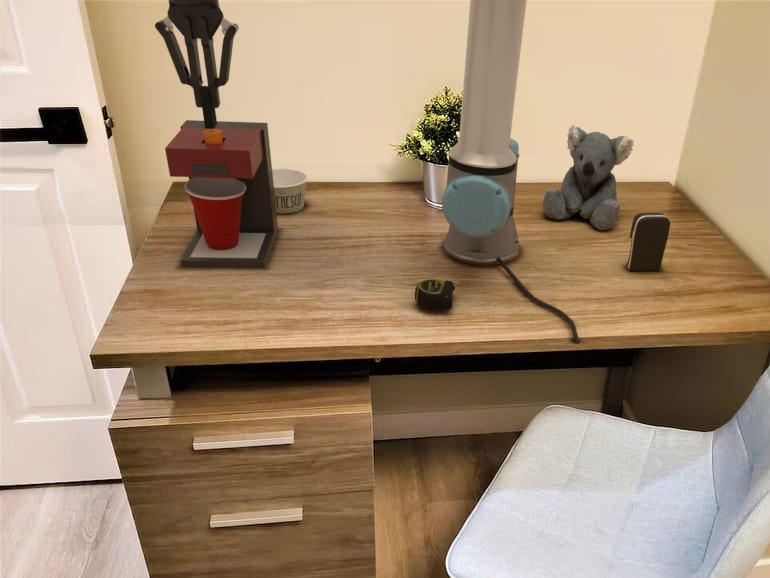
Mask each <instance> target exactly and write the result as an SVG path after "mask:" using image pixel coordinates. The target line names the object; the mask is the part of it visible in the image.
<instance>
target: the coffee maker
mask: <svg viewBox="0 0 770 578" xmlns="http://www.w3.org/2000/svg"><path fill="white" fill-rule="evenodd" d="M214 129H218V130H221V132H222V140H223V144H205V140H204V133H203V131H205V130H208V129H205V124H204V120H197V119H196V120H194V119H193V120H192V119H186V120H185V121H184V122H183V123H182V124H181V125H180V130H179V131H178V132H177V133H176V135H174V137H173V138H172V139H171V141H169V143H167V145H166V146H165V148H164V151H165V157H166V162H167V168H168V174H169V177H171V178H172V177H173V178H188V181H189V180H191V179H193V178H196V177H207V178H235V179H238V180H240V181H241V182H243V183H244V184H245V185H246V187H247V188H246V190H245V192H244V194H243V198H242V203H241V218H240V228H239V241H238V244H237V246H235V247H234V248H231V249H227V250H214V249H211V248H209V247H208V245H207V244H206V241H205V238H204V235H203V232H202V231H201V228H200V225H199V222H198V219H197V216H196V213H195V210H194V209H193V212H194V220H195V225H196V231H195V234H194V236H193V237H192V239H191V241H190V242H189V245H188V246H187V247H186V249H185V252H183V255H182V257H181V258H180V261H179V262H180V267H181V268H190V269H191V268H193V269H194V268H195V269H197V268H198V269H199V268H201V269H202V268H203V269H266V266H267V263H268V261H269V257H270V255H271V251H272V249H273V245H274V243H275V241H276V240H275V239H276V237H277V234H278V231H279V226H278V225H279V224H278V217H277V216H278V215H277V214H278V213H276V204H275V194H274V184H273V174H272V169H273V167H272V155H271V146H270V134H269V125H268V122H257V121H256V122H252V121H227V120H225V121H223V120H222V121H221V120H217V125H216V127H215V128H214Z"/></svg>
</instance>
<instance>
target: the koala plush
mask: <svg viewBox="0 0 770 578" xmlns="http://www.w3.org/2000/svg"><path fill="white" fill-rule="evenodd" d="M566 137H567V141H566V143H567V146H566V150H569V155H570V156H571V158H572V159H573V161H572V162H573V165H572V166H570V167H569V169H568V170H567V171H566V173H565V175H564V177H563V179H562V182H561V186H560V187H561V188H560V189H559V188H558V187H555V186H551V187H549V188H548V189H547V190H546V191H545V194H544V196H543V200H542V211H543V213H544V215H545V216H546V217H547V218H549V219H551V220H554V221H558V220H566V219H569V218H571V217H574V216H576V215H578V214H579V215H580V217H582V218H583V219H587V220H588V219H589V223H590V224H591V225H592V226H593V227H594V228H595V229H597V230H599V231H605V230H606V231H609V230H610V229H611V228H613V227H614V226H615V223H616V222H617V217H618V215H619V211H620V207H621V206H620V203H619V201H618V197H617V196H618V195H617V194H618V193H617V180H616V176H615V175H614V173H612V171H613V169H614V168H615V166H619V165H621V164H622V163H623V162H624V161H626V160H627V159H629V157H630V155H631V154H632V151H633V147H634V146H635V145H634V141H635V140H633V139H632V138H631V137H628V135H625V136H624V135H619V136H617V137H615V138H610V137H609V136H608V135H607V134H605V133H604V132H601V131H600V132H599V131H592V132H589V133H588V132H586V130H583V129H582V128H581V127H580V126H575V124H573V125H571V126H570V127H568V133H567V135H566Z"/></svg>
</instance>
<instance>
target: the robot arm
mask: <svg viewBox="0 0 770 578" xmlns="http://www.w3.org/2000/svg"><path fill="white" fill-rule="evenodd" d="M527 1H528V0H469V13H468V23H467V38H466V50H465V61H464V74H463V85H462V99H461V112H460V124H459V134H458V141H457V143H456V144H454V145H453V146H452V147H451V148H450V149H449V152H448V160H447V161H448V162H447V173H446V174H447V175H446V187H445V189H444V191H443V193H442V196H441V209H442V213H443V217H444V218H445V221H446V222H447V223H448V224H449V227H448V230H447V233H446V234H445V237H444V243H443V247H444V253H446V255H448V256H449V257H450V258H451V259H453V260H456V261H458V262H461V263H464V264H467V265H472V266H473V265H474V266H482V267H483V266H486V267H487V266H498V265H500V266H501V267H502V268H503V269H504V271H505V272H506V273H507V275H508V276H509V277H510V278H511V279H512V281H513V282H514V283H515V284H516V286H517V287H518V288H519V289H520V290H521V292H523V293H524V295H525V296H527V297H528V298H529V299H530V300H532V301H533V302H534V303H536V304H537V305H539V306H541V307H543V308H545V309H547V310H550V311H552V312H554V313H556V314H557V315H559V316H560V317H562V318H563V319H564V320H565V321H566V322H567V323H568V325H569V326H570V329H571V334H572V338H573V342H574V344H575V345H579V344H580V340H579V335H578V331H577V330H578V329H577V326H576V324H575V321H573V320H572V318H571V317H570V316H569V315H568V314H566V313H565V312H564V311H563V310H560V309H559V308H558V307H556V306H553V305H551V304H549V303H547V302H545V301H542V300H541V299H539V298H538V297H536V296H534V294H532V292H530V291H529V290H528V289H527V288H526V287H525V286H524V285H523V283H522V282H521V281H520V280H519V279H518V277H517V276H516V275H515V274H514V273H513V271H512V270H511V269H510V268H509V267H508V265H507V264H506V263H509V262H512V261H514V260H515V259H516V258H518V256H519V253H520V239H519V235H518V231H517V227H516V222H515V219H514V210H515V209H514V208H515V200H516V199H515V197H516V189H517V188H516V187H517V186H516V185H517V174H518V165H519V163H518V161H519V158H520V153H519V150H520V149H519V148H520V146H519V142H518V141H517V140H516V139H514V138H512V137H511V136H512V135H511V134H512V127H513V118H514V110H515V109H514V108H515V102H516V92H517V84H518V78H519V77H518V76H519V67H520V59H521V51H522V43H523V36H524V35H523V34H524V27H525V16H526V10H527ZM220 7H221V6H220V3H219V0H168V9H167V15H166V16H165V17H164V18H163V19H160V20H158V21H157V22H155V23H154V28H155V30H156V31H157V32H158V33H159V34H160V35H161V37H162V38H163V41H164V43H165V45H166V48H167V51H168V54H169V56H170V58H171V59H170V60H171V61H172V63H173V66H174V69H175V72H176V74H177V77H178V79H179V81H180V83H181V85H187V86H190V87H191V88H192V90H193V96H194V103H195V107H196V108H201V110H202V117H203V121H204V124H205V129H214V128H215V127H216V125H217V121H218V119H217V114H216V109H218V108H220V106H221V99H220V91H219V90H220V89H219V88H220V87H224V86H226V85H227V83H228V82H229V79H230V71H231V62H232V55H233V48H234V47H233V46H234V38H235V36H236V35H237V33H238V31H239V29H240V28H239V25H238V24H237V23H235V22H234V23H233V22H231V21H229V20H228V19H226V18H225V17H224V13H223V11H222V9H221V8H220ZM220 26H221V33H222V35H224V36H223V39H222V46H221V55H220V62H219V63H220V64H219V74H218V70H217V62H216V55H215V47H214V36H215V35H216V33H217V31H218V30H219V28H220ZM174 27H175V28H176V29H177V30H178V32H179V33H180V34H181V35H182V36H183V39H184V44H185V46H186V47H185V48H186V54H187V60H188V61H187V62H188V66H187V63H186V60H185V58H184V55H183V52H182V50H181V47H180V44H179V42H178V40H177V37H176V35H175V33H174ZM198 40H200V44H201V47H202V52H203V60H204V68H205V73H206V74H205V75H206V82H207V85H203V84H204V80H203V75H202V67H201V61H200V60H201V59H200V53H199V46H198V45H199V44H198V42H199V41H198Z"/></svg>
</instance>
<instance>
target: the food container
mask: <svg viewBox="0 0 770 578" xmlns="http://www.w3.org/2000/svg"><path fill="white" fill-rule="evenodd" d="M272 174H273V184H274V194H275V204H276V214H290V213H291V214H292V213H295V212H298V211H301V210H302V209H303V208H304V207H305V200H306V190H307V182H308V181H309V175H308V174H307V173H306V172H304V171H302V170H299V169H295V168H289V167H287V168H286V167H275V168H272Z"/></svg>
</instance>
